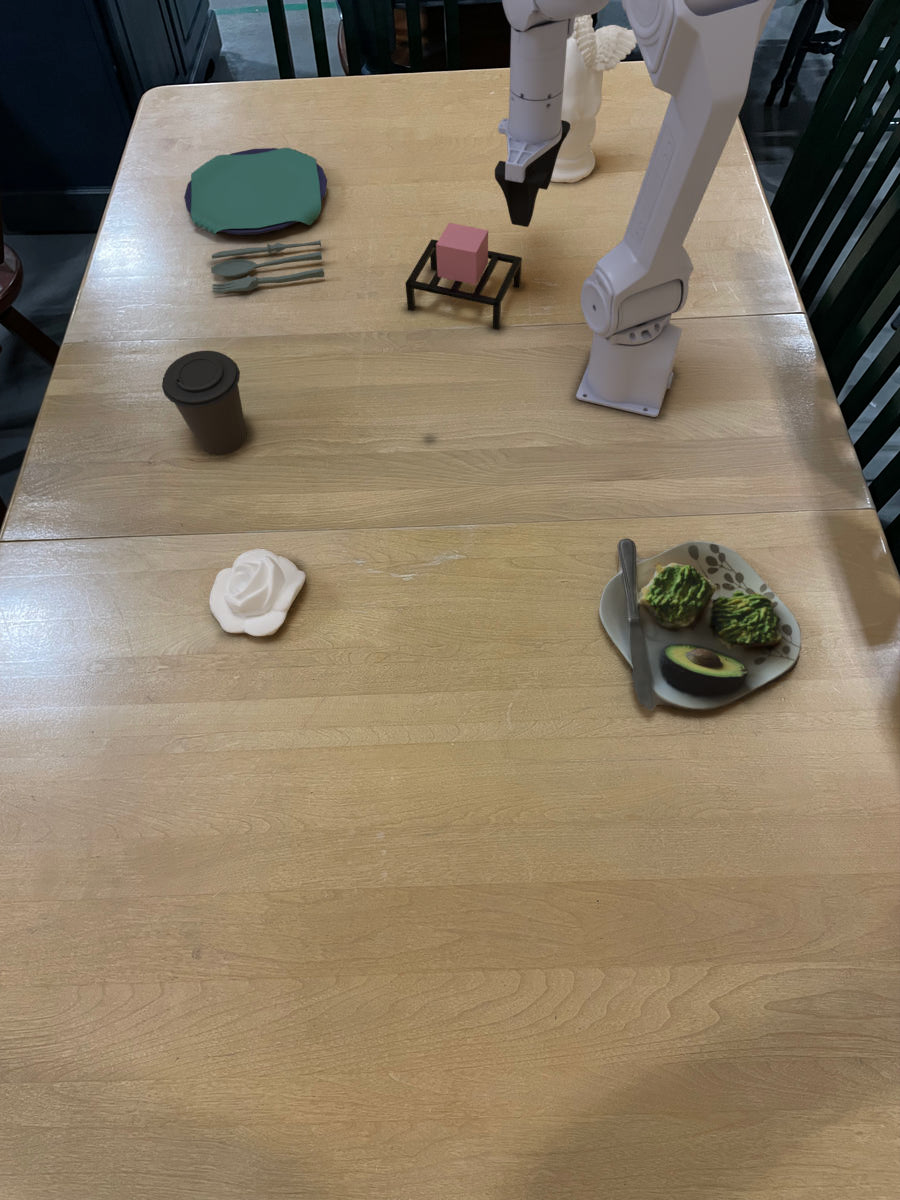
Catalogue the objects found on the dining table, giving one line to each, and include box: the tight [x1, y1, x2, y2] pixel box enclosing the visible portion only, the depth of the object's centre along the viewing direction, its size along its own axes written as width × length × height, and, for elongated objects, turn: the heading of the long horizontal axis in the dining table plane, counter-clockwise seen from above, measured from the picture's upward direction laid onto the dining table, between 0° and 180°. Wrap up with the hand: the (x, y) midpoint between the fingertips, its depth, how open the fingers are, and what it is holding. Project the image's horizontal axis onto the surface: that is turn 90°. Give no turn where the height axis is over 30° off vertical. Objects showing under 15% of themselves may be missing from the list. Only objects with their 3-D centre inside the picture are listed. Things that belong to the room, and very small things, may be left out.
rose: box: [208, 548, 307, 637], centre depth 82 cm, size 10×4×10 cm
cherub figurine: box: [550, 14, 638, 184], centre depth 112 cm, size 12×12×22 cm
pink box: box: [436, 222, 489, 286], centre depth 102 cm, size 5×4×4 cm
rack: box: [405, 238, 523, 331], centre depth 105 cm, size 12×9×4 cm
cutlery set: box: [183, 147, 328, 294], centre depth 116 cm, size 20×30×2 cm, turn 9°
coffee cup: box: [161, 350, 247, 456], centre depth 92 cm, size 8×8×10 cm
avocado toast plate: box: [598, 537, 802, 713], centre depth 79 cm, size 19×18×5 cm
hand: (530, 205), depth 101 cm, fingers open, 7 cm apart
